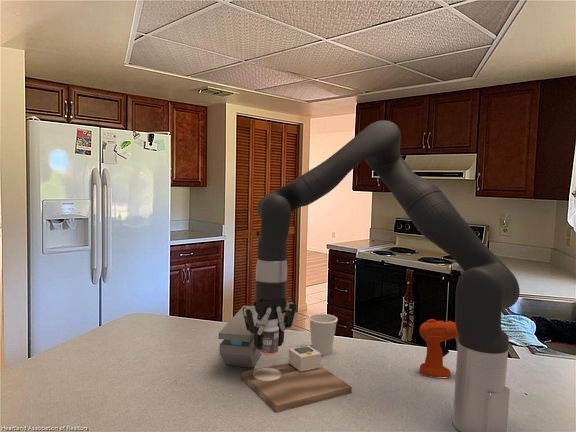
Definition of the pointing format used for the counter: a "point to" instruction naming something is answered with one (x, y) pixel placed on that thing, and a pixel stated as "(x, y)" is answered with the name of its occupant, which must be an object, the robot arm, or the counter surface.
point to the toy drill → (436, 346)
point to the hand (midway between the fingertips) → (268, 346)
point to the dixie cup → (322, 332)
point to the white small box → (304, 358)
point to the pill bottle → (270, 337)
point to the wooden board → (294, 385)
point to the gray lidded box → (238, 342)
